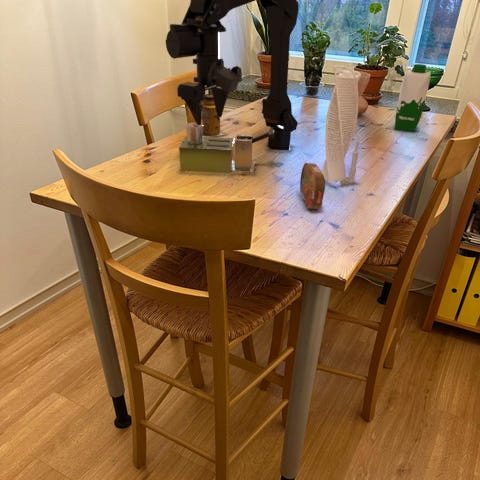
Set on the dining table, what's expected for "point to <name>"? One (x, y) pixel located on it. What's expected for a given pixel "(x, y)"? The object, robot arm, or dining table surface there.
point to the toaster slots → (218, 145)
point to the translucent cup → (194, 133)
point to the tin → (312, 185)
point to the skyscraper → (341, 127)
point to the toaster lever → (263, 136)
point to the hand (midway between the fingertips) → (209, 120)
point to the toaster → (207, 156)
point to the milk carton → (412, 98)
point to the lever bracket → (243, 155)
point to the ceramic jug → (361, 87)
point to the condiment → (210, 118)
